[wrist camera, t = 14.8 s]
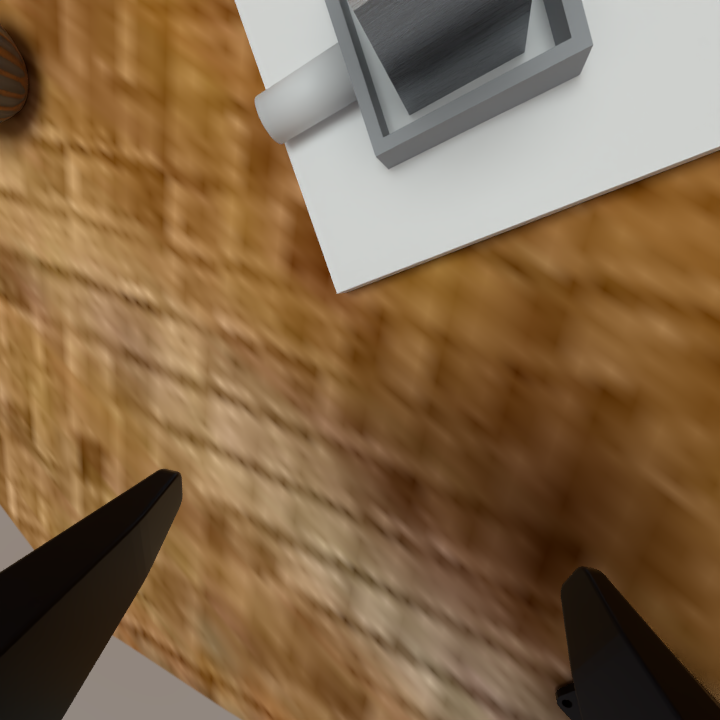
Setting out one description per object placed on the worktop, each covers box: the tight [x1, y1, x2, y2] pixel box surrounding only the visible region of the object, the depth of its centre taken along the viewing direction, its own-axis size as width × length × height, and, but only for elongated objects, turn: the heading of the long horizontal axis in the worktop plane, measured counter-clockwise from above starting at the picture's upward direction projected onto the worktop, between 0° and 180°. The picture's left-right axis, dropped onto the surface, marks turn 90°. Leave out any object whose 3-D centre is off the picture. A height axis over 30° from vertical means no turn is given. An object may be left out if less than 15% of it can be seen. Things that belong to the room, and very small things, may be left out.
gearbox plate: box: [235, 0, 720, 294], centre depth 15 cm, size 16×16×4 cm
